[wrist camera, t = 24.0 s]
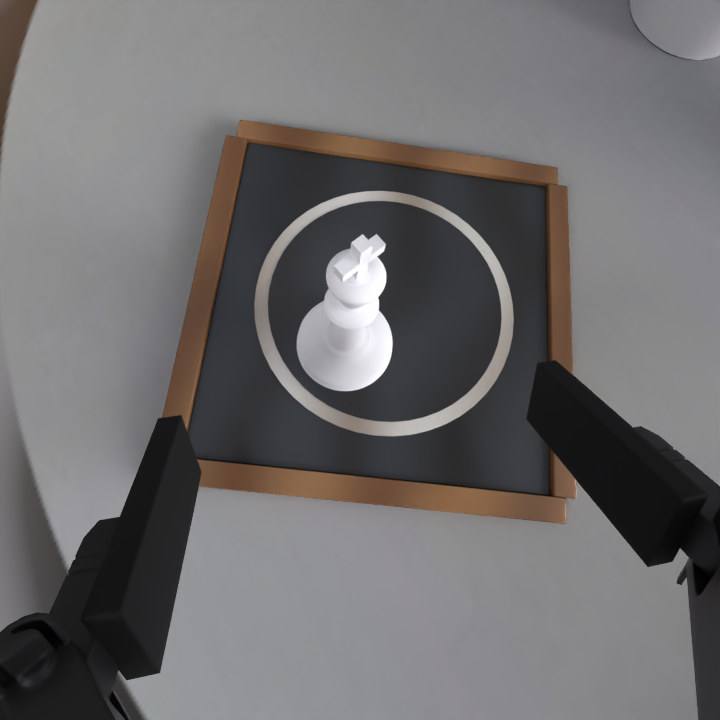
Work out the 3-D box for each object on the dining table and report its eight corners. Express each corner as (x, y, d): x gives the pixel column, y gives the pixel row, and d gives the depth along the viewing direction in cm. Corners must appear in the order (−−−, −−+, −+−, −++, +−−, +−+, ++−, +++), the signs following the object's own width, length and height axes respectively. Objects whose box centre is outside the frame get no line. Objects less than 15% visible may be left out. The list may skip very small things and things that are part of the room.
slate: (155, 480, 20) (147, 481, 19) (232, 129, 25) (229, 117, 24) (567, 522, 21) (578, 525, 20) (559, 178, 26) (567, 168, 25)
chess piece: (277, 337, 21) (237, 230, 11) (350, 282, 22) (370, 141, 13) (338, 411, 20) (352, 363, 11) (411, 350, 22) (482, 257, 12)
